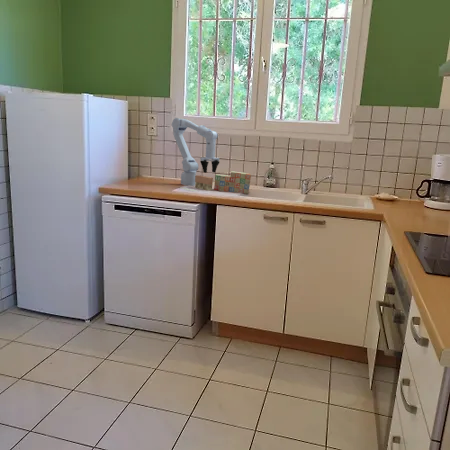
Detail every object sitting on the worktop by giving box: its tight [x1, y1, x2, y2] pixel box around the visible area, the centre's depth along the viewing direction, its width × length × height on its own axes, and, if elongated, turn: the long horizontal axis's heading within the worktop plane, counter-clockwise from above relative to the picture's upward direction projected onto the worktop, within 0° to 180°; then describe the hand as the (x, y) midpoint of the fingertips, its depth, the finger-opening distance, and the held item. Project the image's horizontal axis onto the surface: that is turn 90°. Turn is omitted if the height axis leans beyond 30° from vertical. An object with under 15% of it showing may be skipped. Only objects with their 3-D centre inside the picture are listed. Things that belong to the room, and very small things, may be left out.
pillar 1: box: [194, 182, 203, 189], centre depth 269 cm, size 4×4×4 cm
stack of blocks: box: [213, 170, 252, 195], centre depth 264 cm, size 21×6×12 cm, turn 85°
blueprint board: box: [180, 186, 204, 192], centre depth 264 cm, size 16×24×1 cm, turn 136°
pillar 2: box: [202, 183, 213, 191], centre depth 264 cm, size 4×4×4 cm
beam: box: [195, 174, 214, 185], centre depth 266 cm, size 12×4×4 cm, turn 46°
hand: (209, 172), depth 270 cm, fingers open, 7 cm apart
